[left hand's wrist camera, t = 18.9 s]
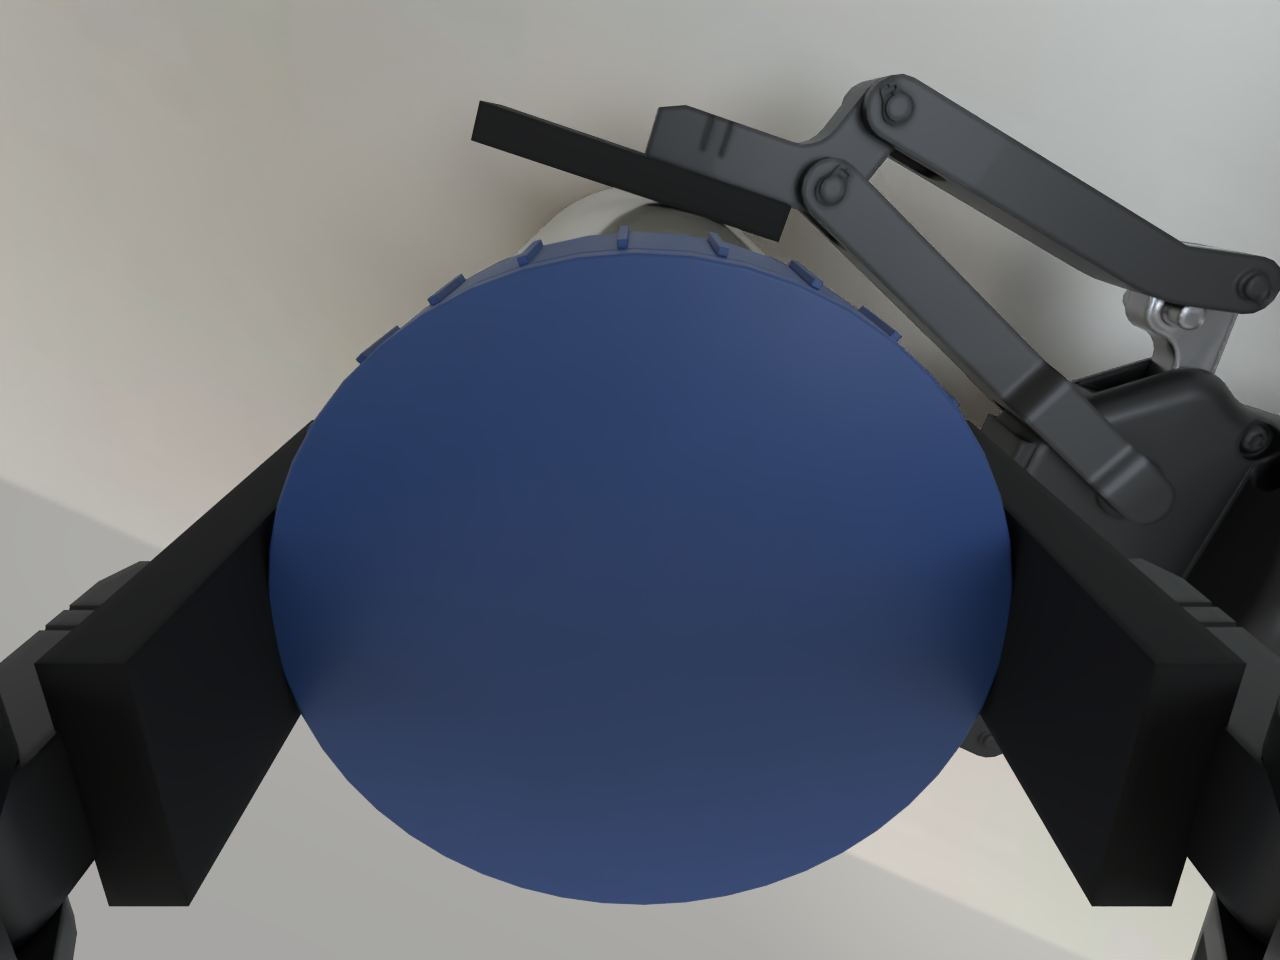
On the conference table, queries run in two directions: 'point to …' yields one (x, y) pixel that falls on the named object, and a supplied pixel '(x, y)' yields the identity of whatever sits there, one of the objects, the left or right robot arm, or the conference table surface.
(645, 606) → the lid
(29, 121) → the conference table surface
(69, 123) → the conference table surface
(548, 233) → the jar
